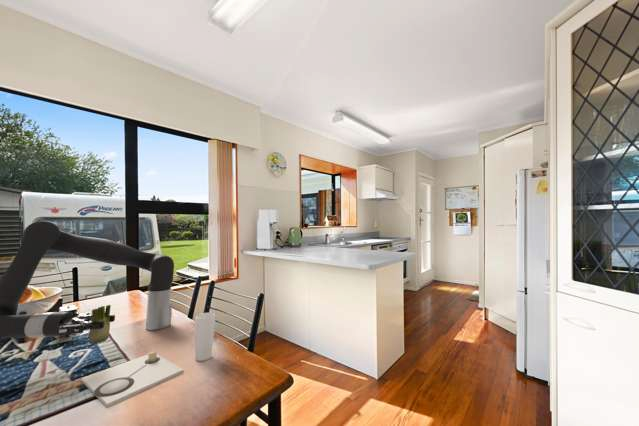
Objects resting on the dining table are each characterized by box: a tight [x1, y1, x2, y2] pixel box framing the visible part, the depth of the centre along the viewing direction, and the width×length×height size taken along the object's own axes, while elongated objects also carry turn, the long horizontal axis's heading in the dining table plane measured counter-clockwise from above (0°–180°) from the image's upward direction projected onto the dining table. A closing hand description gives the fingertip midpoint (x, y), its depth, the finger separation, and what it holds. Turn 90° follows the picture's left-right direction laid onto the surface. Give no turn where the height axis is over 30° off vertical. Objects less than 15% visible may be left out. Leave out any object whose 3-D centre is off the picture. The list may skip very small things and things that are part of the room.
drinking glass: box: [194, 312, 216, 362], centre depth 93 cm, size 7×7×15 cm
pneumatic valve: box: [58, 304, 80, 317], centre depth 111 cm, size 6×12×12 cm, turn 50°
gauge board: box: [80, 350, 184, 408], centre depth 80 cm, size 20×20×3 cm
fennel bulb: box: [88, 304, 111, 345], centre depth 87 cm, size 6×5×12 cm
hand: (109, 321), depth 88 cm, fingers closed on fennel bulb, 5 cm apart
